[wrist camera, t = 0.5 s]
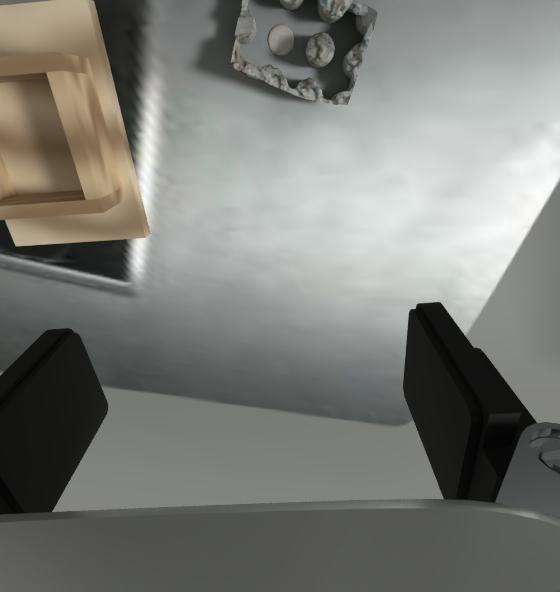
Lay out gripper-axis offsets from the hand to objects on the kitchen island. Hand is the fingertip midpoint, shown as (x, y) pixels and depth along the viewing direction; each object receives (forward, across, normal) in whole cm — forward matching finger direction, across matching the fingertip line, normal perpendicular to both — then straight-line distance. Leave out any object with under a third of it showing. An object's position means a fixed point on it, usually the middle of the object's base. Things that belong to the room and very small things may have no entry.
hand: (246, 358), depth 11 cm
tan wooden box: (+30, +21, -5) cm, 37 cm away
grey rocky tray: (+31, -3, -10) cm, 32 cm away
